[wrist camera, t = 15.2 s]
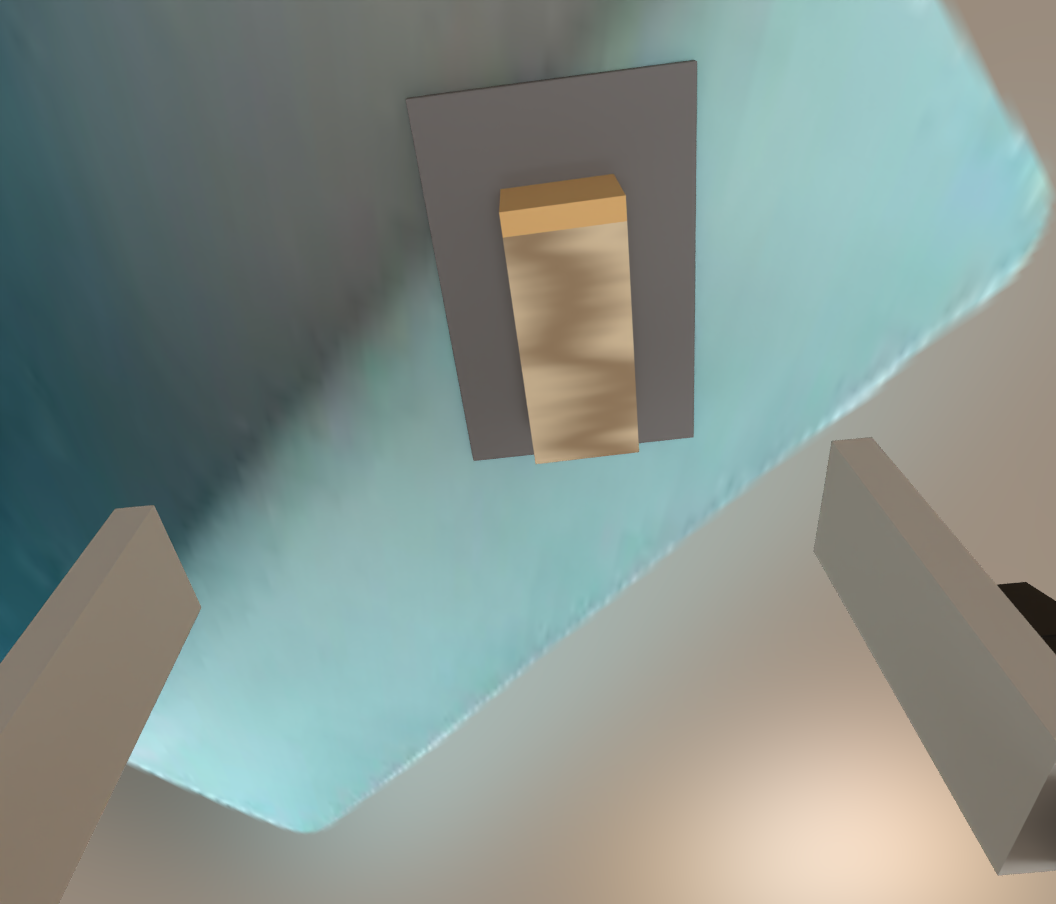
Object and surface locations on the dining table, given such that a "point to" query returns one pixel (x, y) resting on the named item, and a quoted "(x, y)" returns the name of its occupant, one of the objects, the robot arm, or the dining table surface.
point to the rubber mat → (549, 156)
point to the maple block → (573, 315)
